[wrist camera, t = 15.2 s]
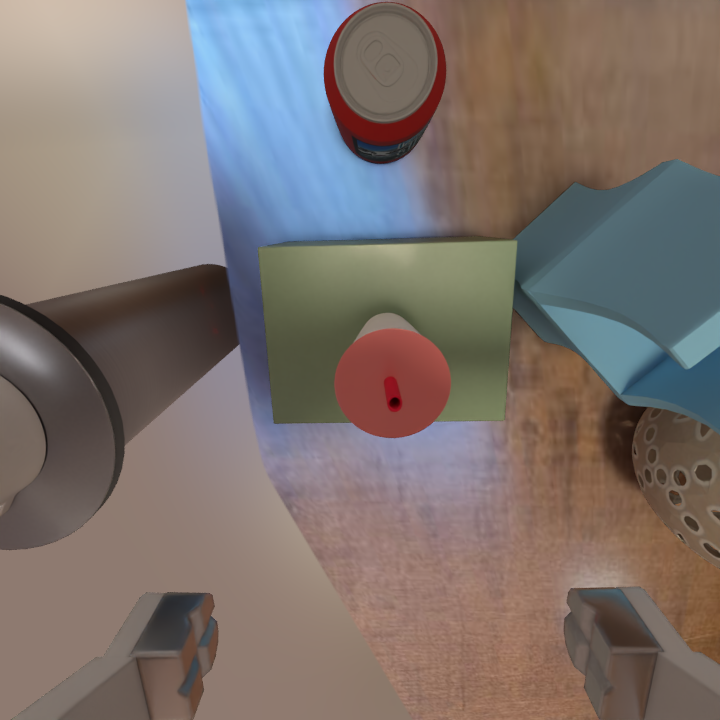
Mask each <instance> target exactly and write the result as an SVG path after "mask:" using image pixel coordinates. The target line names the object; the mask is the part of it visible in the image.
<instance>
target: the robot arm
mask: <svg viewBox="0 0 720 720" xmlns="http://www.w3.org/2000/svg"><path fill="white" fill-rule="evenodd" d="M45 455H46V440H45V434H44V430H43V427H42V424H41V421H40V419H39V417H38V415H37V413H36V411H35V410H34V408H33V407H32V405H31V404H30V402H29V401H28V400H27V398H26V397H25V396H24V395H23V394H22V393H21V392H20V391H19V390H18V389H17V388H16V387H15V386H14V385H13V384H11V383H10V382H9V381H7V380H6V379H5V378H3V377H2V376H0V516H2V515H3V514H5V513H6V512H7V511H8V510H9V508H10V506H11V504H12V502H13V499H14V497H15V495H16V494H17V493H18V492H20V491H21V490H22V489H24V488H25V487H27V486H28V485H29V484H30V483H32V481H33V480H34V479H35V478H36V477H37V476H38V474H39V472H40V471H41V469H42V466H43V464H44V460H45ZM567 604H568V606H569V608H570V610H571V612H570V613H569V614H568V615H567V616H566V617H565V620H564V636H565V643H566V647H567V650H568V653H569V656H570V658H571V661H572V663H573V665H574V667H575V668H576V669H578V670H579V671H580V672H581V673H582V674H584V675H585V676H586V677H585V684H584V689H585V691H586V693H587V695H588V697H589V699H590V701H591V703H592V705H593V707H594V710H595V712H596V714H597V716H598V718H599V720H720V664H718V663H716V662H715V661H713V660H712V659H710V658H709V657H707V656H705V655H704V654H702V653H701V652H692V650H691V649H690V648H689V647H688V645H687V644H686V643H685V641H684V640H683V639H682V638H681V636H680V635H679V634H678V632H677V631H676V630H675V628H674V627H673V626H672V625H671V623H670V622H669V621H668V619H667V618H666V617H665V616H664V614H663V613H662V612H661V610H660V609H659V608H658V606H657V605H656V604H655V603H654V601H653V600H652V599H651V597H650V596H649V595H648V594H647V592H646V591H645V590H644V589H642V588H641V587H616V588H614V587H607V588H571V589H570V591H569V592H568V596H567ZM214 607H215V606H214V600H213V595H212V594H210V593H175V592H174V593H173V592H170V593H169V592H168V593H145V594H144V595H142V596H141V597H140V598H139V600H138V601H137V603H136V605H135V606H134V608H133V609H132V611H131V613H130V614H129V616H128V617H127V619H126V620H125V622H124V624H123V626H122V627H121V629H120V630H119V632H118V634H117V635H116V637H115V638H114V640H113V642H112V643H111V645H110V646H109V648H108V650H107V651H106V653H105V654H104V656H103V657H96V658H94V659H93V660H91V661H90V662H89V663H87V664H86V665H85V666H83V667H82V668H80V669H79V670H78V671H76V672H75V673H74V674H72V675H71V676H70V677H68V678H67V679H66V680H64V681H63V682H62V683H60V684H59V685H58V686H56V687H55V688H53V689H52V690H51V691H49V692H48V693H46V694H45V695H44V696H42V697H41V698H40V699H38V700H37V701H36V702H34V703H33V704H32V705H30V706H29V707H27V708H26V709H25V710H24V711H22V712H21V713H19V714H18V715H17V716H15V717H14V718H12V719H11V720H193V719H194V716H195V713H196V711H197V707H198V705H199V702H200V699H201V697H202V694H203V691H204V688H203V681H202V678H203V677H204V676H205V675H206V674H207V673H208V672H209V671H210V670H211V668H212V666H213V663H214V660H215V657H216V651H217V646H218V625H217V621H216V620H215V619H214V618H213V617H212V616H211V614H212V611H213V609H214Z"/></svg>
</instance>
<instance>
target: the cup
mask: <svg viewBox="0 0 720 720" xmlns="http://www.w3.org/2000/svg"><path fill="white" fill-rule="evenodd" d="M334 387H335V394H336V398H337V401H338V404H339V406H340V408H341V410H342V411H343V413H344V414H345V416H346V417H347V418H348V419H349V420H350V421H351V422H352V423H353V424H354V425H355V426H357V427H358V428H360V429H361V430H363V431H365V432H367V433H369V434H372V435H375V436H379V437H386V438H399V437H405V436H409V435H412V434H415V433H417V432H419V431H421V430H423V429H425V428H426V427H428V426H429V425H430V424H432V423H433V422H434V421H435V420H436V419H437V418H438V416H439V415H440V414H441V412H442V411H443V409H444V408H445V406H446V404H447V401H448V398H449V395H450V389H451V376H450V370H449V367H448V364H447V362H446V359H445V358H444V356H443V354H442V353H441V351H440V350H439V349H438V348H437V347H436V345H434V344H433V343H432V342H431V341H430V340H428V339H427V338H426V337H424V336H422V335H421V334H420V333H419V332H418V331H417V330H416V329H415V328H414V327H413V326H412V325H411V324H409V323H408V322H407V321H406V320H405V319H404V318H402V317H401V316H399V315H397V314H393V313H381V314H378V315H376V316H374V317H372V318H371V319H370V320H368V321H367V323H366V324H365V325H364V327H363V328H362V330H361V331H360V333H359V334H358V336H357V338H356V339H355V341H354V343H353V344H352V345H351V346H350V347H349V348H348V349H347V350H346V351H345V353H344V354H343V356H342V357H341V359H340V361H339V363H338V366H337V369H336V373H335V380H334Z"/></svg>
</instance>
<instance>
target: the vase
mask: <svg viewBox="0 0 720 720" xmlns="http://www.w3.org/2000/svg"><path fill="white" fill-rule="evenodd" d="M513 240H517V255H516V269H515V283H514V297H513V308H514V309H515V310H516V311H517V312H518V314H519V315H520V316H521V317H522V318H523V319H524V320H525V321H526V322H527V324H528V325H529V326H530V327H531V328H532V329H533V330H534V331H535V332H536V334H537V335H538V336H539V337H540V338H541V339H542V340H544V341H545V342H548V343H553V344H558V345H561V346H564V347H567V348H569V349H571V350H573V351H575V352H576V353H577V354H578V355H580V356H581V357H582V358H583V359H584V360H585V361H586V362H587V363H588V364H589V365H590V366H591V367H592V368H593V370H594V371H595V372H596V373H597V374H598V376H599V377H600V378H601V379H602V380H603V381H604V382H605V384H606V385H607V386H608V387H609V388H610V389H611V390H612V391H613V393H614V394H615V395H616V396H617V397H618V398H619V399H621V400H622V401H623V402H625V403H626V404H628V405H629V406H630V405H632V406H644V407H654V408H660V409H666V410H669V411H673V412H676V413H680V414H683V415H686V416H688V417H690V418H692V419H694V420H696V421H698V422H701V423H703V424H705V425H707V426H708V427H710V428H711V429H712V430H714V431H715V432H716V433H718V434H719V435H720V176H716V175H714V174H711V173H708V172H705V171H703V170H700V169H698V168H696V167H693V166H691V165H689V164H687V163H685V162H682V161H680V160H678V159H675V160H671V161H666V162H662V163H661V164H660V165H658V166H656V167H655V168H653V169H651V170H650V171H648V172H646V173H645V174H643V175H641V176H639V177H638V178H636V179H634V180H632V181H630V182H628V183H626V184H623V185H621V186H619V187H616V188H612V189H609V190H595V189H590V188H587V187H585V186H583V185H581V184H579V183H577V182H575V183H574V184H572V185H571V186H570V187H569V188H568V189H567V190H566V191H565V192H564V193H563V194H562V195H561V196H559V197H558V198H557V199H556V200H555V201H554V202H553V203H552V204H551V205H550V206H549V207H548V208H546V209H545V210H544V211H543V212H542V213H541V214H540V215H539V216H538V217H537V218H536V219H535V220H533V221H532V222H531V223H530V224H529V225H528V226H527V227H526V228H525V229H524V230H523V231H521V232H520V233H519V234H518V235H517V236H516V237H515V238H514V239H513Z"/></svg>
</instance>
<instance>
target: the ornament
mask: <svg viewBox="0 0 720 720" xmlns="http://www.w3.org/2000/svg"><path fill="white" fill-rule="evenodd" d="M638 430H639V431H638ZM637 431H638V432H637ZM636 433H637V434H636ZM634 447H635V450H636V454H637V455H635V454H634ZM632 458H633V465H634V471H635V474H636V477H637V480H638V482H639V484H640V487H641V490H642V492H643V494H644V496H645V498H646V500H647V501H648V503H649V505H650V506H651V508H652V509H653V510H654V511H655V513H656V514H657V515H658V516H659V518H660V519H661V520H662V521H663V522H664V524H665V525H666V526H667V527H668V528H669V529H670V530H671V531H672V532H673V533H674V534H675V535H676V536H677V537H678V538H679V539H680V540H681V541H682V542H683V543H684V544H686V545H687V546H688V547H689V548H690V549H692V550H693V551H694V552H695V553H697V554H698V555H700V556H701V557H702V558H703V559H705V560H706V561H708V562H710V563H711V564H713V565H714V566H716V567H717V568H719V569H720V512H712V510H716V511H720V435H719V434H718V433H716V432H715V431H714V430H712V429H711V428H710V427H708V426H707V425H705V424H703V423H701V422H698V421H696V420H694V419H692V418H690V417H688V416H686V415H683V414H680V413H676V412H673V411H669V410H666V409H660V408H654V407H648V408H647V409H646V410H645V412H644V413H643V415H642V416H641V418H640V420H639V422H638V424H637V427H636V430H635V434H634V439H633V445H632ZM680 471H681V472H682V473H683V474H684V476H685V478H686V480H687V482H686V484H685V485H684V486H681V485H680V482H679V479H678V476H679V472H680ZM661 483H664V485H663V484H661ZM671 490H674V491H676V492H678V493H679V495H680V496H679V495H674V494H672V493H670V491H671ZM678 503H681V505H680V506H676V505H675V504H678ZM693 530H694V531H693ZM709 544H710V545H712V546H713V547H714V548H715V549H717V550H718V551H717V550H715V549H713V548H712V547H711V546H710V545H709Z"/></svg>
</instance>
